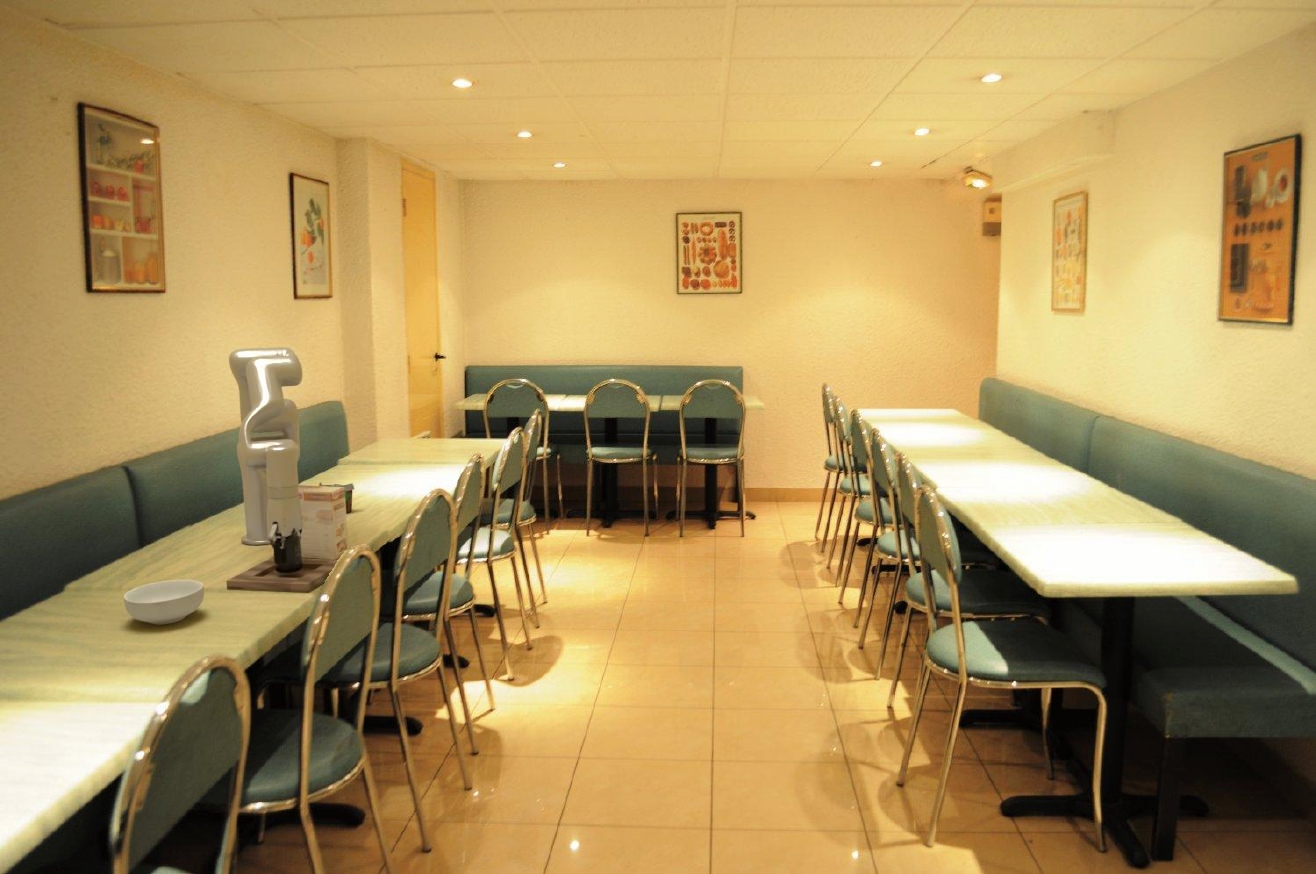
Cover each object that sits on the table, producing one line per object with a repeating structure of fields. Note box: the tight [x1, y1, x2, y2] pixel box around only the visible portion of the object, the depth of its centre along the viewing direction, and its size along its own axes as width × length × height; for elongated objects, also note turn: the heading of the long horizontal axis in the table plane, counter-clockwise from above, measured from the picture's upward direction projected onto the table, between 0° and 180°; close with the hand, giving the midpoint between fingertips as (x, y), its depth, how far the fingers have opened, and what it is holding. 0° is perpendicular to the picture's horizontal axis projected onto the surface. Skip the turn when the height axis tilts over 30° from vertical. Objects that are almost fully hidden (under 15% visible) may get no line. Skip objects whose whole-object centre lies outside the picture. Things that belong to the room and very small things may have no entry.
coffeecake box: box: [298, 484, 349, 560], centre depth 291 cm, size 15×7×20 cm, turn 74°
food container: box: [318, 482, 355, 515], centre depth 342 cm, size 12×6×10 cm, turn 81°
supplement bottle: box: [275, 529, 303, 573], centre depth 269 cm, size 7×7×12 cm
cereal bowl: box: [123, 579, 205, 626], centre depth 239 cm, size 17×17×7 cm
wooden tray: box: [225, 556, 338, 594], centre depth 270 cm, size 22×22×2 cm
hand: (288, 558), depth 270 cm, fingers closed on supplement bottle, 6 cm apart
